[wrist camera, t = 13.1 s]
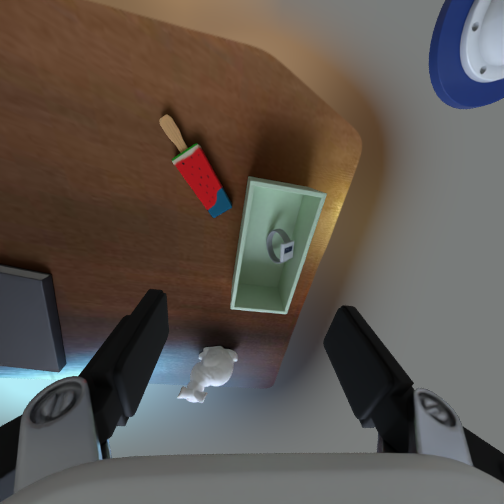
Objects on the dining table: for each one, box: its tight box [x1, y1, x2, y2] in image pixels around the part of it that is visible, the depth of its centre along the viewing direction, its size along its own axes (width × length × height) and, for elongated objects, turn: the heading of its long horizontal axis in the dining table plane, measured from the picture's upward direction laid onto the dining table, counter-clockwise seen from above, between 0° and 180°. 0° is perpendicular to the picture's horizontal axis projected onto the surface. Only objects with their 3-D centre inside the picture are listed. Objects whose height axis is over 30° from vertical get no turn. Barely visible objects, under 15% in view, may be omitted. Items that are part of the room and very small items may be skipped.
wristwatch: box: [266, 229, 294, 264], centre depth 32 cm, size 6×3×5 cm
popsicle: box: [159, 114, 232, 218], centre depth 28 cm, size 4×2×15 cm
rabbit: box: [177, 346, 238, 403], centre depth 42 cm, size 12×9×12 cm
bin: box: [230, 176, 327, 314], centre depth 31 cm, size 21×10×8 cm, turn 170°
